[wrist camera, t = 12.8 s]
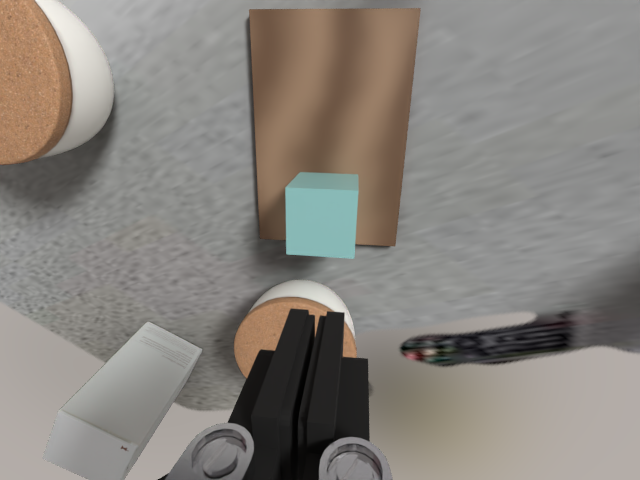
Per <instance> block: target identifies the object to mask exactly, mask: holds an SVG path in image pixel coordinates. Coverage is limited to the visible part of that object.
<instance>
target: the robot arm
mask: <svg viewBox="0 0 640 480" xmlns="http://www.w3.org/2000/svg"><path fill="white" fill-rule="evenodd" d="M344 318H345V312H332V311H327V314H326V316H322V315H320V317H319V322H318V326H317V331H316V336H315V315H309V310H305V309H292V308H291V309H290V311H289V314H288V317H287V319H286V322H285V325H284V327H283V330H282V333H281V336H280V338H279V341H278V344H277V346H276V349H275V351H274V350H263V349H261V350H260V351H259V352H258V354H257V356H256V359H255V361H254V363H253V366H252V368H251V370H250V373H249V375H248V377H247V379H246V382H245V384H244V386H243V389H242V391H241V393H240V396H239V398H238V400H237V402H236V405H235V407H234V409H233V412H232V414H231V416H230V419H229V421H228V423H222V424H216V425H214V426H211V427H209V428H207V429H205V430H204V431H202V432H201V433H199V434H198V435H197V436H196V437H195V438H194V439H193V440H192V441H191V443H190V444H189V445H188V447H187V448H186V450H185V451H184V452H183V454H182V455H181V457H180V458H179V460H178V461H177V463H176V464H175V465H174V467H173V469H172V470H171V471H170V473H168V474H167V475H165V476H163V477H162V478H160V479H158V480H392V475H391V471H390V467H389V464H388V462H387V459H386V457H385V456H384V455H383V453H382V452H381V451H380V449H379V448H377V447H376V446H375V445H374V444H372V443H371V442H369V391H368V359H364V358H353V357H343V341H344Z"/></svg>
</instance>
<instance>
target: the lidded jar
mask: <svg viewBox="0 0 640 480" xmlns="http://www.w3.org/2000/svg"><path fill="white" fill-rule="evenodd" d="M291 308H292V309H305V310H309V315H315V336H316V331H317V326H318V322H319V317H320V315H322V316H326V314H327V311H332V312H345V318H344V341H343V357H353V358H356V345H355V332H354V327H353V322H352V319H351V316H350V314H349V311H348V309H347V307H346V305H345V304H344V302H343V301H342V300H341V299H340V297H339V296H338V295H337V294H336V293H335V292H334V291H332V290H331V289H330V288H328V287H327V286H325V285H322V284H320V283H318V282H314V281H310V280H298V279H297V280H290V281H286V282H283V283H280V284H278V285H276V286H274V287H272V288H271V289H269V290H268V291H267V292H265V293H264V294H263V295H262V296H261V297H260V298H259V299H258V300H257V301H256V303H255V304H254V305H253V307H252V308H251V309H250V311H249V312H248V314H247V315H246V317H245V318H244V319H243V321H242V322H241V324H240V326H239V328H238V330H237V332H236V335H235V340H234V353H235V358H236V361H237V364H238V366H239V368H240V370H241V372H242V373H243V375H244V376H245V377H246V379H247V377H248V375H249V373H250V370H251V368H252V366H253V363H254V361H255V359H256V356H257V354H258V352H259V351H260V350H261V349H263V350H274V351H275V349H276V346H277V344H278V341H279V338H280V336H281V333H282V330H283V327H284V325H285V322H286V319H287V317H288V314H289V311H290V309H291Z"/></svg>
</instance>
